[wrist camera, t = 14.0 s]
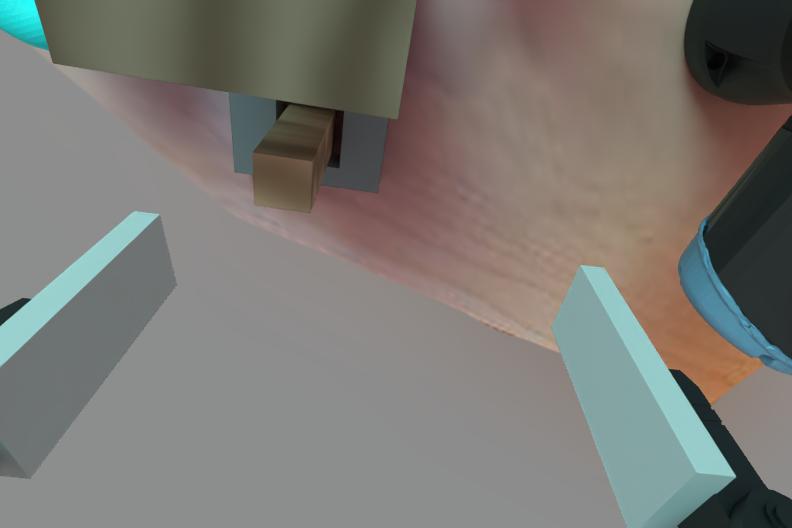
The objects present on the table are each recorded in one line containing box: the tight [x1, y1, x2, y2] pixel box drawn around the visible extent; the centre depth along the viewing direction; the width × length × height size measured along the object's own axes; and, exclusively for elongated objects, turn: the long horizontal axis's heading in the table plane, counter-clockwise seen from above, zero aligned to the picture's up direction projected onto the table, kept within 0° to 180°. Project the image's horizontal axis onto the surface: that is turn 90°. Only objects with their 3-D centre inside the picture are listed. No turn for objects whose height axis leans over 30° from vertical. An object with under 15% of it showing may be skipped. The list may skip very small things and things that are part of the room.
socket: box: [229, 92, 389, 193], centre depth 38 cm, size 14×14×3 cm
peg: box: [252, 102, 337, 213], centre depth 35 cm, size 4×4×14 cm
